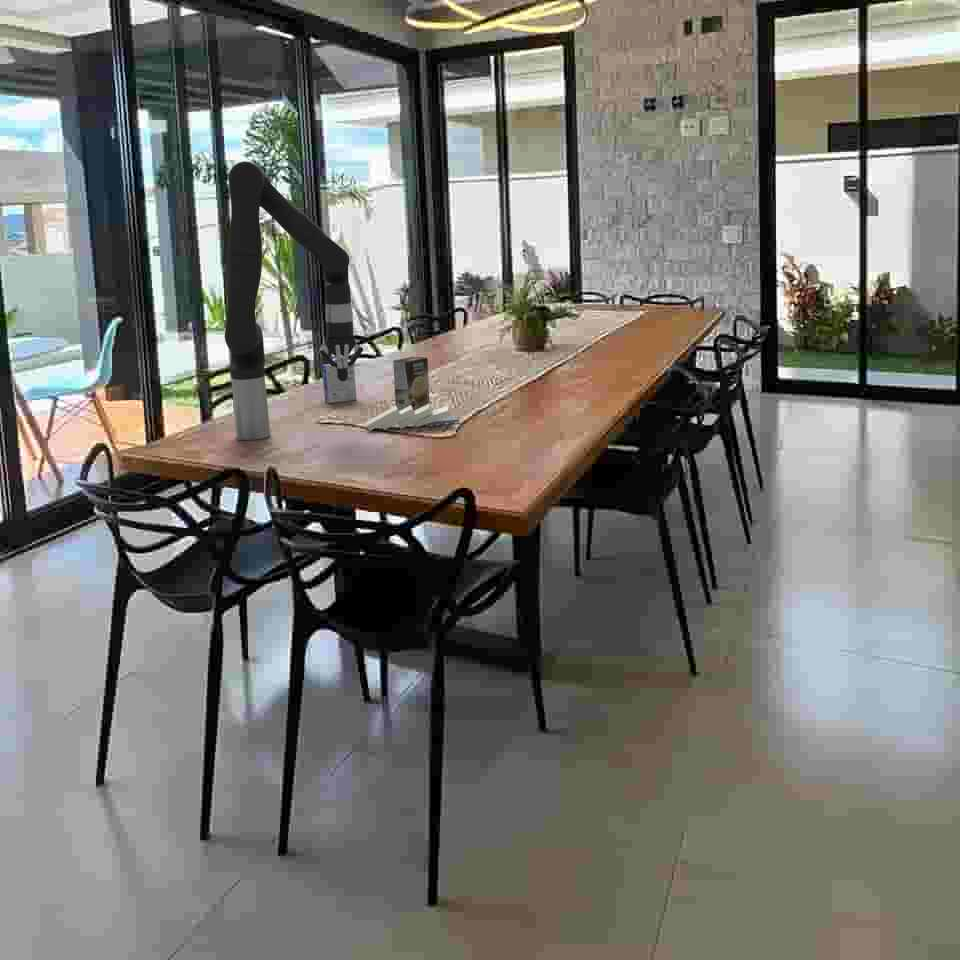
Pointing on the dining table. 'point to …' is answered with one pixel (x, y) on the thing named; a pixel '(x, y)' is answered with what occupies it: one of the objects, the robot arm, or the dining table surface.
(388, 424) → the domino
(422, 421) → the domino
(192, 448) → the dining table surface
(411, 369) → the coffee box
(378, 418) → the domino
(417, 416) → the domino
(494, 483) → the dining table surface
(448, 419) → the end domino
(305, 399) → the dining table surface
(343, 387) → the ink cartridge box
